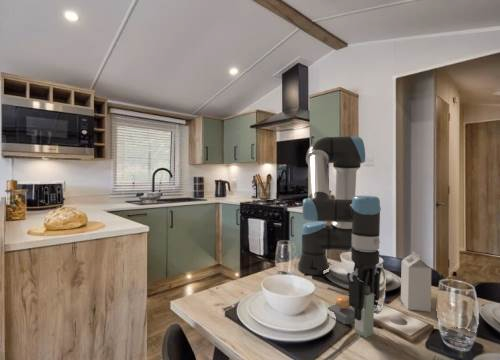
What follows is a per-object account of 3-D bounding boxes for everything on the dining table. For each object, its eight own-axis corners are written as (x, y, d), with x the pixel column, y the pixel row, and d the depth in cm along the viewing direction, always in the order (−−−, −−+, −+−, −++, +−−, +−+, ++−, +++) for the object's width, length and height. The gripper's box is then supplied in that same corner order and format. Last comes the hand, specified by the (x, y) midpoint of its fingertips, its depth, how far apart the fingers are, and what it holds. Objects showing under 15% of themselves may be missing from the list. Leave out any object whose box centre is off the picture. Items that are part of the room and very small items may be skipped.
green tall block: (354, 331, 78) (355, 284, 78) (362, 327, 80) (362, 282, 80) (365, 338, 75) (366, 289, 75) (373, 334, 77) (373, 286, 77)
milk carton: (421, 302, 97) (422, 251, 96) (430, 312, 90) (431, 257, 90) (400, 300, 98) (401, 249, 98) (407, 310, 91) (408, 255, 91)
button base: (327, 315, 88) (327, 307, 87) (341, 309, 91) (341, 302, 91) (344, 325, 82) (345, 317, 82) (358, 318, 85) (359, 311, 85)
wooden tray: (354, 313, 88) (354, 308, 88) (377, 303, 96) (377, 298, 95) (411, 343, 73) (411, 336, 73) (433, 328, 80) (433, 322, 80)
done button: (333, 303, 87) (333, 297, 87) (341, 300, 89) (341, 294, 89) (344, 309, 83) (344, 303, 83) (353, 305, 86) (353, 299, 86)
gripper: (359, 256, 70) (357, 344, 70) (393, 247, 79) (392, 325, 79) (335, 249, 76) (334, 329, 76) (370, 242, 85) (369, 314, 85)
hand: (364, 327), depth 78 cm, fingers closed on green tall block, 4 cm apart
